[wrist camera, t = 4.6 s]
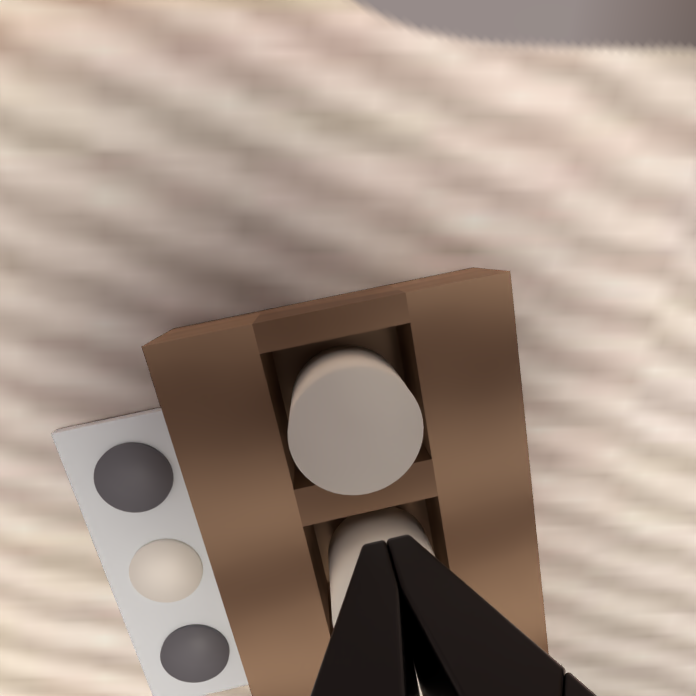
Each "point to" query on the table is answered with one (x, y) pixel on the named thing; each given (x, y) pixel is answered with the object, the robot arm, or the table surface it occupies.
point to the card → (152, 552)
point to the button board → (332, 509)
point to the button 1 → (353, 421)
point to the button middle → (361, 532)
